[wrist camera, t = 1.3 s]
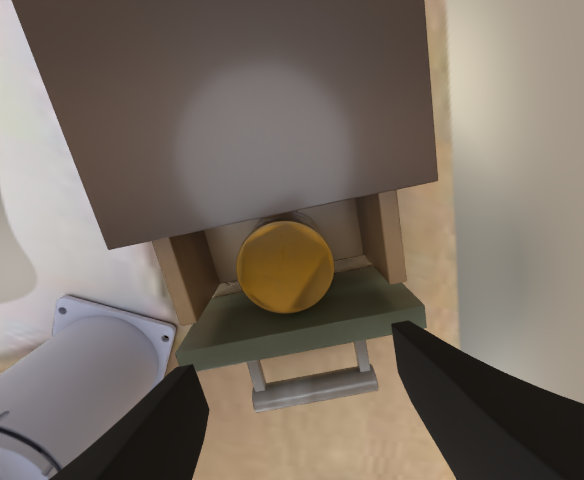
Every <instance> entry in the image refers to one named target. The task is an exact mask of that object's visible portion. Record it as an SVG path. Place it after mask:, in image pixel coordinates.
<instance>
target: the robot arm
mask: <svg viewBox="0 0 584 480" xmlns="http://www.w3.org/2000/svg"><path fill="white" fill-rule="evenodd" d="M63 308H65V309H66V311H65V310H64V309H63ZM391 327H392V334H393V341H394V347H395V354H396V361H397V368H398V373H399V375H400V378H401V380H402V382H403V385H404V387H405V389H406V391H407V393H408V396H409V398H410V400H411V402H412V404H413V405H414V407H415V409H416V411H417V412H418V414H419V416H420V418H421V419H422V421H423V423H424V424H425V426H426V428H427V430H428V431H429V433H430V435H431V436H432V438H433V440H434V441H435V443H436V445H437V446H438V448H439V450H440V452H441V453H442V455H443V457H444V458H445V460H446V462H447V463H448V465H449V467H450V469H451V470H452V472H453V474H454V476H455V477H456V479H457V480H584V404H582V403H579V402H577V401H574V400H571V399H568V398H565V397H562V396H560V395H557V394H555V393H552V392H549V391H547V390H544V389H542V388H539V387H537V386H534V385H532V384H530V383H528V382H525V381H523V380H520V379H518V378H516V377H513V376H511V375H509V374H507V373H504V372H502V371H500V370H498V369H496V368H494V367H492V366H490V365H488V364H486V363H484V362H482V361H480V360H478V359H476V358H473V357H471V356H470V355H468V354H466V353H464V352H462V351H461V350H459V349H457V348H455V347H453V346H452V345H450V344H448V343H446V342H444V341H443V340H441V339H439V338H438V337H436V336H434V335H433V334H431V333H429V332H427V331H426V330H424V329H422V328H421V327H419V326H417V325H416V324H414V323H412V322H411V321H409V320H407V321H402V322H397V323H392V324H391ZM175 333H176V328H175V327H174V326H173V325H172V324H169V323H166V322H162V321H158V320H155V319H151V318H148V317H144V316H140V315H137V314H133V313H130V312H126V311H122V310H119V309H115V308H111V307H108V306H104V305H101V304H97V303H93V302H90V301H86V300H82V299H79V298H75V297H72V296H67V295H65V296H62V297H60V298H59V299H58V300H57V302H56V309H55V316H54V323H53V331H52V337H51V338H50V339H49V340H47V341H46V342H44V343H43V344H42V345H40V346H39V347H37V348H36V349H35V350H33V351H32V352H30V353H29V354H28V355H26V356H25V357H23V358H22V359H21V360H19V361H18V362H16V363H15V364H14V365H12V366H11V367H9V368H8V369H7V370H5V371H4V372H2V373H1V374H0V480H192V478H193V475H194V471H195V468H196V465H197V462H198V458H199V455H200V452H201V448H202V445H203V441H204V437H205V432H206V427H207V421H208V415H209V407H208V404H207V401H206V398H205V396H204V393H203V390H202V387H201V385H200V382H199V379H198V376H197V373H196V371H195V368H194V365H193V364H190V365H185V366H180V367H176V368H175V369H174V370H173V371H172V372H170V373H169V374H168V375H167V376H166V377H165V378H164V376H165V372H166V368H167V364H168V361H169V357H170V353H171V349H172V345H173V341H174V337H175ZM164 335H166V336H168V337H169V339H167V338H165V337H164Z"/></svg>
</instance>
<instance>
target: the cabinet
mask: <svg viewBox="0 0 584 480" xmlns="http://www.w3.org/2000/svg"><path fill="white" fill-rule="evenodd" d="M12 2H13V5H14V8H15V10H16V13H17V15H18V18H19V21H20V23H21V26H22V28H23V31H24V33H25V36H26V39H27V41H28V44H29V46H30V49H31V52H32V54H33V57H34V59H35V62H36V64H37V67H38V70H39V72H40V75H41V77H42V80H43V83H44V85H45V88H46V90H47V93H48V95H49V98H50V101H51V103H52V106H53V108H54V111H55V114H56V116H57V119H58V121H59V124H60V126H61V129H62V132H63V134H64V137H65V139H66V142H67V145H68V147H69V150H70V152H71V155H72V157H73V160H74V163H75V165H76V168H77V170H78V173H79V176H80V178H81V181H82V183H83V186H84V188H85V191H86V194H87V196H88V199H89V201H90V204H91V207H92V209H93V212H94V214H95V217H96V219H97V222H98V225H99V227H100V230H101V232H102V235H103V238H104V240H105V243H106V245H107V248H108V250H111V249H115V248H120V247H125V246H130V245H135V244H139V243H144V242H149V241H154V240H158V239H163V238H168V237H173V236H178V235H182V234H187V233H192V232H197V231H201V230H206V229H211V228H216V227H221V226H225V225H230V224H235V223H240V222H244V221H249V220H254V219H259V218H264V217H268V216H273V215H278V214H283V213H287V212H292V211H297V210H302V209H306V208H311V207H316V206H321V205H326V204H330V203H335V202H340V201H345V200H349V199H354V198H359V197H364V196H369V195H373V194H378V193H383V192H388V191H392V190H397V189H402V188H407V187H412V186H416V185H421V184H426V183H431V182H435V181H438V172H437V159H436V146H435V133H434V120H433V108H432V95H431V82H430V69H429V56H428V43H427V30H426V17H425V4H424V0H12Z"/></svg>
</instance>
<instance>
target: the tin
mask: <svg viewBox="0 0 584 480" xmlns="http://www.w3.org/2000/svg"><path fill="white" fill-rule="evenodd" d="M236 273H237V278H238V281H239V284H240V286H241V288H242V290H243V291H244V293H245V294H246V295H247V297H248V298H249V299H250V300H251V301H252V302H254V303H255V304H256V305H258V306H259V307H261V308H263V309H265V310H268V311H271V312H276V313H295V312H299V311H302V310H305V309H307V308H309V307H311V306H313V305H314V304H315V303H317V302H318V301H319V300H320V299H321V298H322V297H323V296H324V295H325V293H326V292H327V290H328V289H329V287H330V285H331V282H332V279H333V275H334V259H333V255H332V252H331V249H330V247H329V245H328V243H327V242H326V240H325V238H324V237H323V236H322V234H321V232H320V230H319V228H318V226H317V225H316V224H315V222H314V221H313V220H312V219H311V218H309V217H308V216H307V215H305V214H303V213H301V212H299V211H292V212H287V213H283V214H278V215H273V216H268V217H264V218H261V219H260V220H259V221H258V222H257V223H256V224H255V226H254V227H253V229H252V231H251V233H250V234H249V235H248V236H247V238H246V239H245V241H244V242H243V244H242V246H241V248H240V250H239V253H238V256H237V260H236Z"/></svg>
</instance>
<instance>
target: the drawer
mask: <svg viewBox="0 0 584 480" xmlns="http://www.w3.org/2000/svg"><path fill="white" fill-rule="evenodd" d="M297 211H299V212H301V213H303V214H305V215H307V216H308V217H309V218H311V219H312V220H313V221H314V222H315V224H316V225H317V226H318V228H319V230H320V232H321V234H322V236H323V237H324V238H325V240H326V242H327V243H328V245H329V247H330V249H331V252H332V255H333V259H334V261H336V260H341V259H346V258H351V257H356V256H361V255H364V256H365V257H366V258H367V259H368V260H369V261H370V262H371V264H372V265H373V266H371V267H366V268H361V269H356V270H351V271H346V272H341V273H336V274H334V275H333V279H332V282H331V285H330V287H329V289H328V290H327V292H326V293H325V295H324V296H323V297H322V298H321V299H320V300H319V301H318V302H317V303H315V304H314V305H313V306H311V307H309V308H307V309H305V310H302V311H299V312H295V313H276V312H271V311H268V310H265V309H263V308H261V307H259V306H258V305H256V304H255V303H254V302H252V301H251V300H250V299H249V298H248V297H247V295H246V294H245V293H244V292H241V293H236V294H231V295H226V296H221V297H216V298H212V296H213V295H214V293H215V291H216V289H217V288H218V286H219V284H222V283H227V282H232V281H237V280H238V278H237V273H236V260H237V256H238V253H239V250H240V248H241V246H242V244H243V242H244V241H245V239H246V238H247V236H248V235H249V234H250V233H251V231H252V229H253V227H254V226H255V224H256V223H257V222H258V221H259V220H260V219H261V218H259V219H254V220H249V221H244V222H240V223H235V224H230V225H225V226H221V227H216V228H211V229H206V230H201V231H197V232H192V233H187V234H182V235H178V236H173V237H168V238H163V239H158V240H154V241H152V243H153V246H154V249H155V252H156V255H157V258H158V261H159V264H160V267H161V270H162V273H163V275H164V278H165V281H166V284H167V287H168V290H169V293H170V296H171V299H172V302H173V305H174V307H175V310H176V313H177V316H178V319H179V322H180V325H181V326H184V325H189V324H193V325H192V327H191V328H190V330H189V332H188V333H187V335H186V337H185V338H184V340H183V341H182V343H181V345H180V346H179V348H178V350H177V351H176V353H175V355H176V358H177V360H178V363H179V366H185V365H190V364H193V365H194V368H195V371H196V372H198V371H203V370H209V369H214V368H219V367H224V366H230V365H235V364H240V363H245V362H247V365H248V368H249V372H250V375H251V379H252V382H253V386H254V387H253V391H252V400H253V407H254V410H255V412H256V413H259V412H264V411H270V410H275V409H281V408H286V407H292V406H297V405H303V404H308V403H314V402H319V401H325V400H330V399H335V398H341V397H346V396H352V395H357V394H363V393H368V392H374V391H378V382H377V378H376V374H375V371H374V369H373V366H372V365H371V364H370V363H369V357H368V351H367V345H366V339H372V338H377V337H382V336H387V335H393V334H392V327H391V324H392V323H397V322H402V321H407V320H409V321H411V322H412V323H414V324H416V325H417V326H419V327H421V328H422V329H424V328H427V325H426V315H425V306H424V304H423V303H422V302H421V301H420V300H419V299H418V298H417V297H416V296H415V295H414V294H413V293H412V292H411V291H410V290H409V289H408V288H407V287H406V286H405V285H404V284H403V283H402V282H406V280H407V279H406V270H405V262H404V253H403V244H402V236H401V227H400V218H399V209H398V201H397V192H396V190H392V191H388V192H383V193H378V194H373V195H369V196H364V197H359V198H354V199H349V200H345V201H340V202H335V203H330V204H326V205H321V206H316V207H311V208H306V209H302V210H297ZM350 342H354V347H355V352H356V358H357V364H358V366H356V367H351V368H345V369H340V370H335V371H329V372H324V373H319V374H313V375H308V376H303V377H297V378H292V379H287V380H281V381H276V382H271V383H266V381H265V377H264V374H263V370H262V366H261V363H260V360H261V359H266V358H272V357H277V356H282V355H287V354H293V353H298V352H303V351H308V350H314V349H319V348H324V347H329V346H335V345H340V344H345V343H350Z"/></svg>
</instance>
